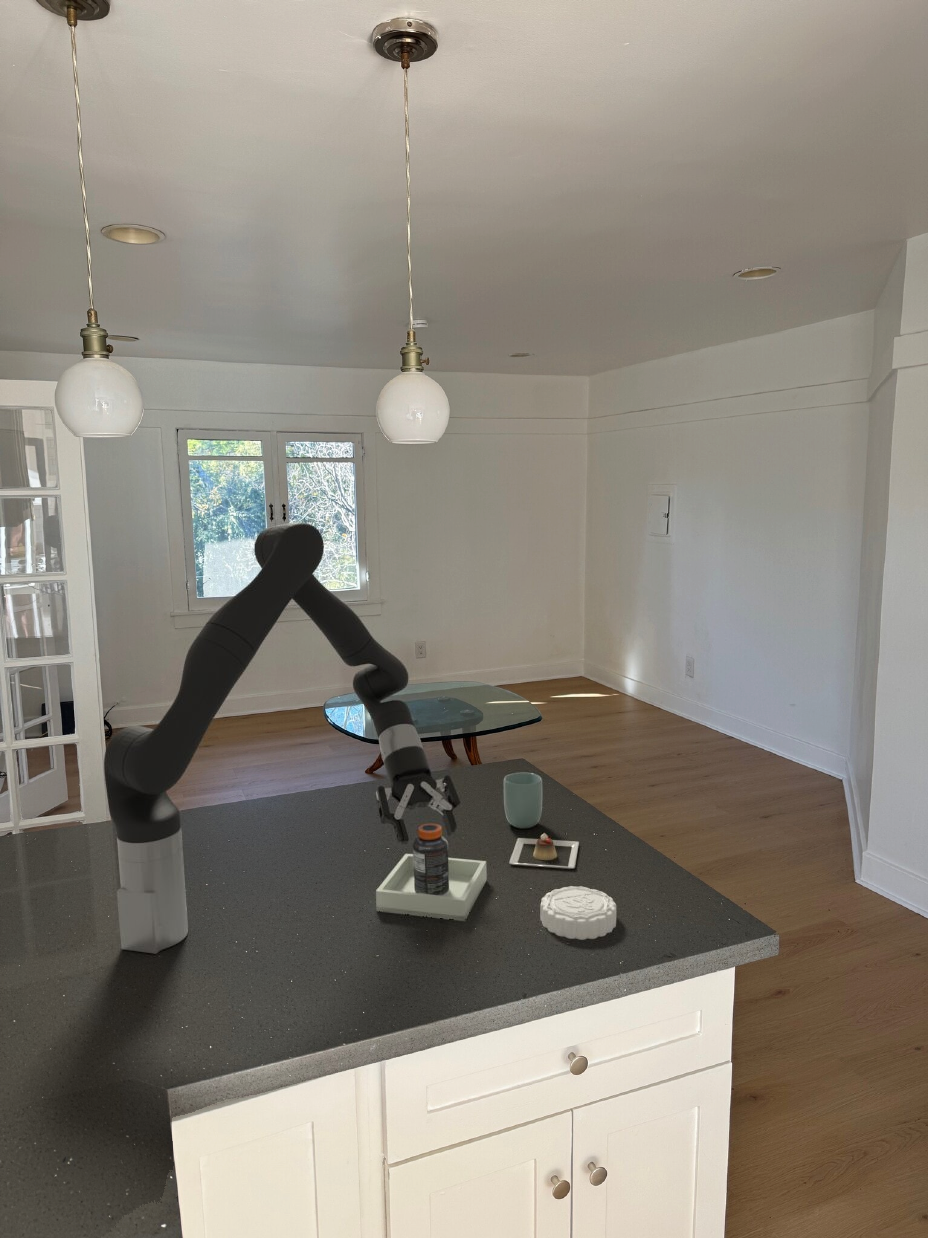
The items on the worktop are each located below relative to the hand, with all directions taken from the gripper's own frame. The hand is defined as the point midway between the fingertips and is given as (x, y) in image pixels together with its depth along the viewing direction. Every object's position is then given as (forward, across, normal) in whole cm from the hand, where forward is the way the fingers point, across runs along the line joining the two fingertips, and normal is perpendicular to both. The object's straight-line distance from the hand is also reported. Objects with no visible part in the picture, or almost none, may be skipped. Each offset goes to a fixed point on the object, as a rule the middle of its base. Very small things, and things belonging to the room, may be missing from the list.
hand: (429, 838), depth 141 cm
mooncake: (+21, +17, -7) cm, 28 cm away
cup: (-7, +29, +20) cm, 36 cm away
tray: (+8, 0, +6) cm, 10 cm away
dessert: (+4, +25, +10) cm, 28 cm away
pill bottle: (+7, 0, +6) cm, 9 cm away
